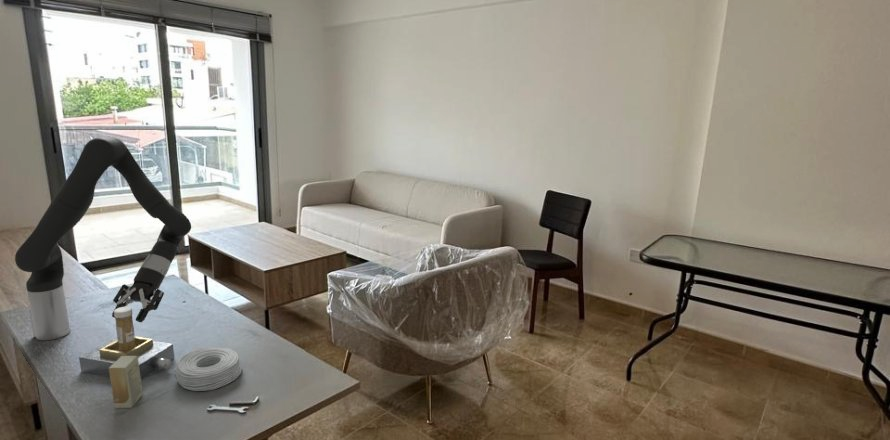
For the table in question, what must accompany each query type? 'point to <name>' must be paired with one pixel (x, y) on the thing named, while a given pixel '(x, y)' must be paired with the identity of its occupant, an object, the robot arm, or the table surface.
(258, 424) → the table surface
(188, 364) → the cable
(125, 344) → the sprinkles bottle
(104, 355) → the grey block with recess
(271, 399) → the table surface
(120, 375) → the skincare box
